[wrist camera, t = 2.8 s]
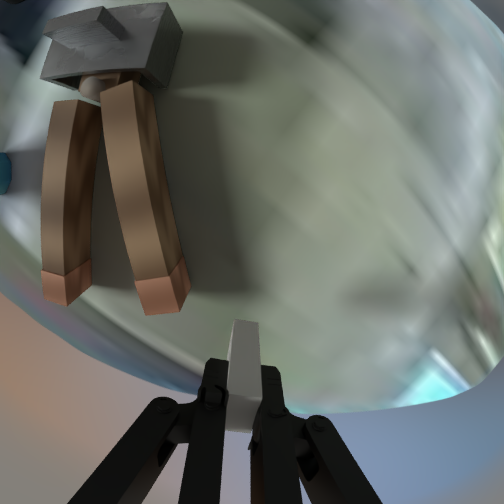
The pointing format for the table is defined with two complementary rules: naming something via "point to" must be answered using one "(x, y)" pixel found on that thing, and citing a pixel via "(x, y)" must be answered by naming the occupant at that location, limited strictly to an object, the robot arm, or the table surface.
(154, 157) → the hinged jaw
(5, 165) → the cup
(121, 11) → the collar
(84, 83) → the base
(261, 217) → the table surface
